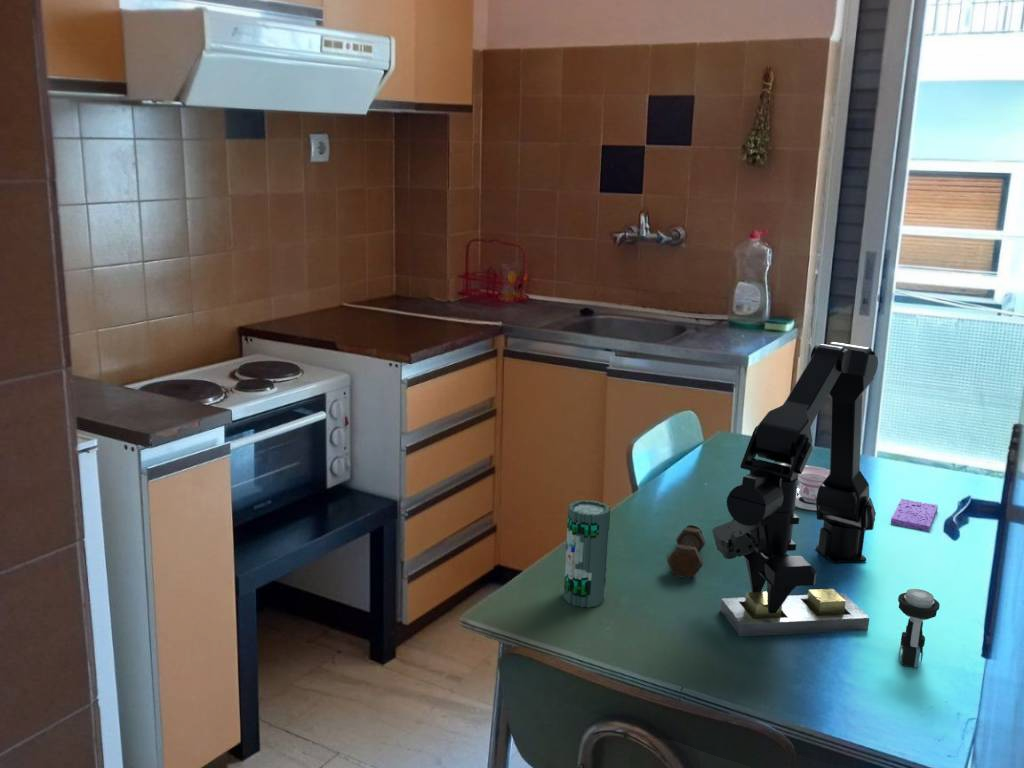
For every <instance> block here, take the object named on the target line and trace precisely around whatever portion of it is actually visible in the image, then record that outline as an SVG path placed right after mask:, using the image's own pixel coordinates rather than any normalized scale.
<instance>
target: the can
mask: <svg viewBox="0 0 1024 768" xmlns="http://www.w3.org/2000/svg"><path fill="white" fill-rule="evenodd" d="M567 507H568V508H567V525H566V526H567V527H566V528H567V529H566V544H565V545H566V546H565V561H564V563H565V565H564V581H563V582H564V583H563V599H564V600H565V601H566V602H567V603H568V604H569V605H570V604H572V605H573V606H575V607H580V608H585V607H586V608H587V609H588V608H594V607H599V606H600V605H602V604H603V603H604V602H605V600H606V598H605V597H606V583H607V567H608V552H609V551H608V550H609V539H610V538H609V536H610V524H611V523H610V521H611V507H610V506H609V505H607V504H606V503H605V502H602V503H601V502H600V501H597V500H592V499H591V500H587V499H582V500H575V501H574V502H570V503H569V505H568V506H567Z"/></svg>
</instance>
